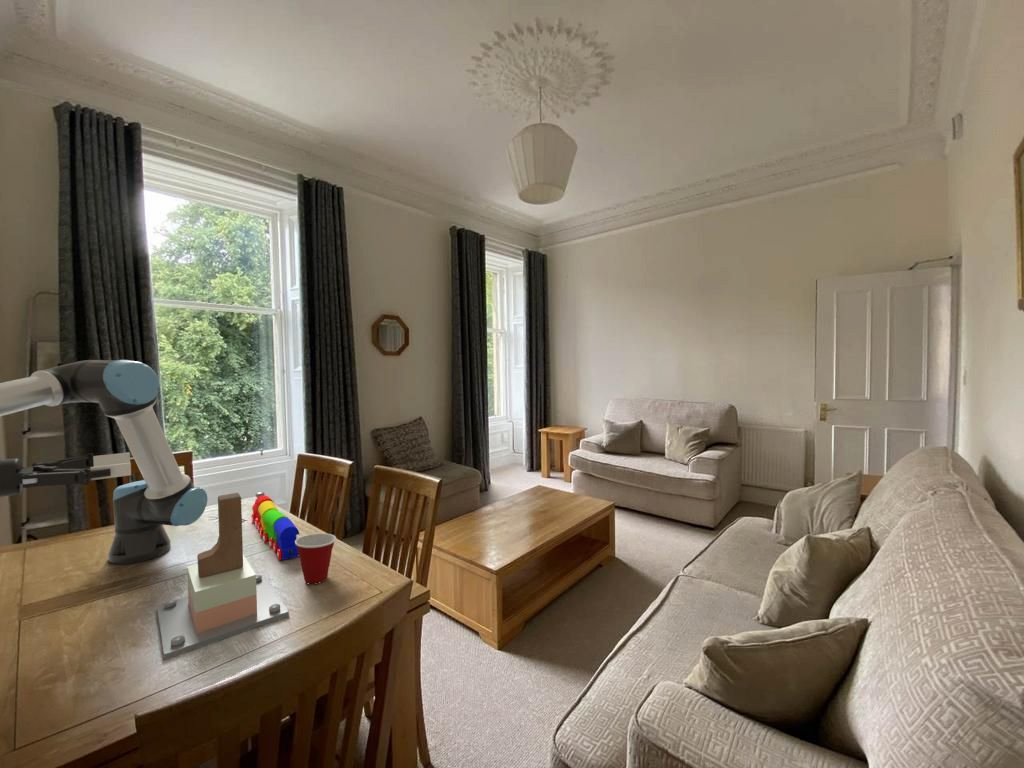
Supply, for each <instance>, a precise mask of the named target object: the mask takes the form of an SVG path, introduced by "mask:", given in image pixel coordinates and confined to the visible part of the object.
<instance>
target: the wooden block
mask: <svg viewBox="0 0 1024 768" xmlns="http://www.w3.org/2000/svg"><path fill="white" fill-rule="evenodd" d="M242 511H243V510H242V497H241V495H240V493H239V492H235V493H229V494H222V495H218V496H217V514H218V517H217V518H218V538H217V541H216V543H215V544H214V545H213V546H212V548H210V549H208V550H205V551H202V552H199V553H198V554H197V564H198V573H199V577H200V578H202V577H206V576H210V575H214V574H218V573H222V572H226V571H230V570H234V569H238V568H242V567H243V554H244V552H243V551H244V549H243V548H244V547H243V545H244V544H243V543H244V541H243V514H242Z"/></svg>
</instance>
